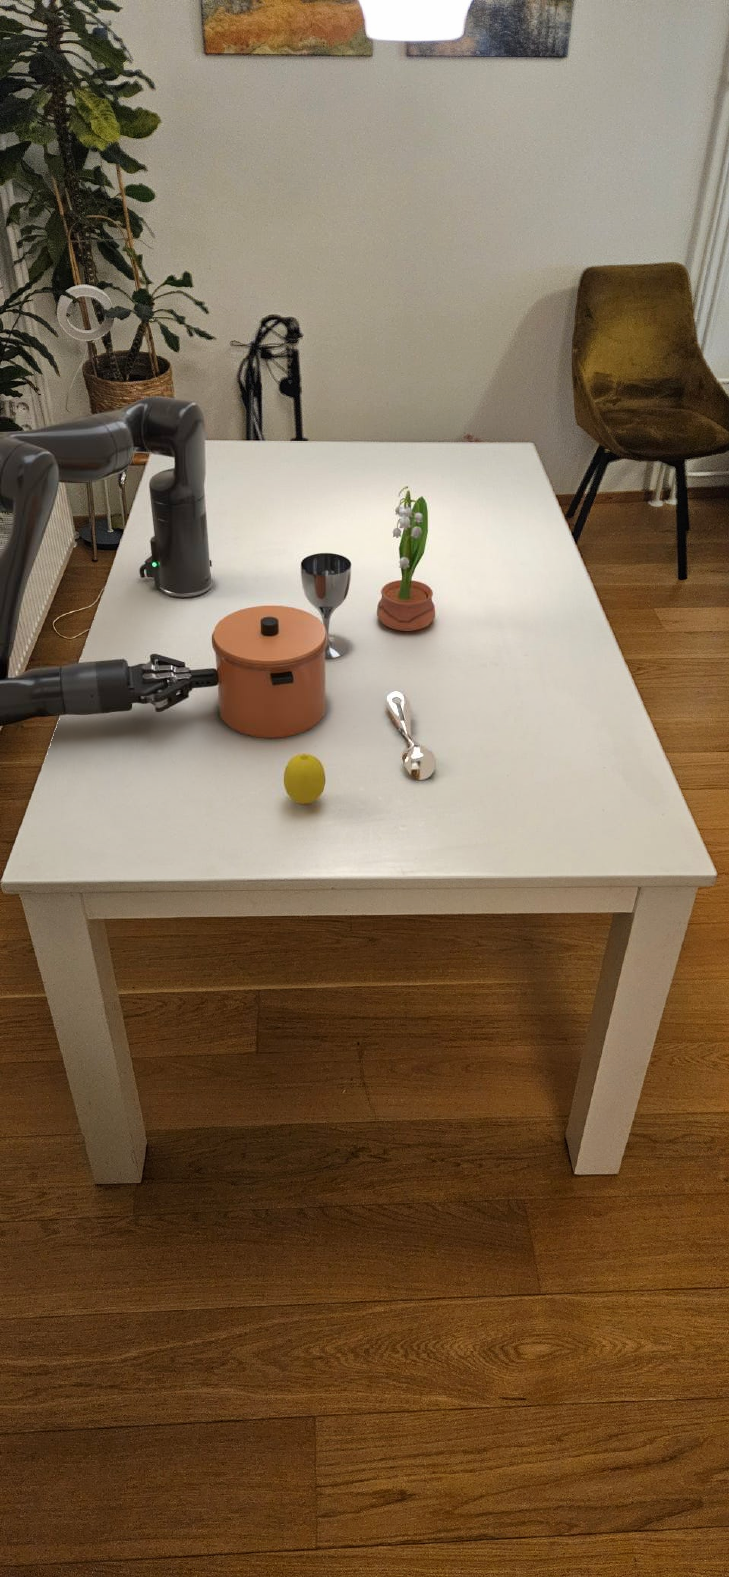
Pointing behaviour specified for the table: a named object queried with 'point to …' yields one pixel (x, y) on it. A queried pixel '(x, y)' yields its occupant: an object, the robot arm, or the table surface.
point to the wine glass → (327, 590)
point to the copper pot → (270, 670)
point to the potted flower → (408, 573)
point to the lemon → (304, 778)
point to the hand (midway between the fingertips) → (217, 676)
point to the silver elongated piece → (411, 741)
